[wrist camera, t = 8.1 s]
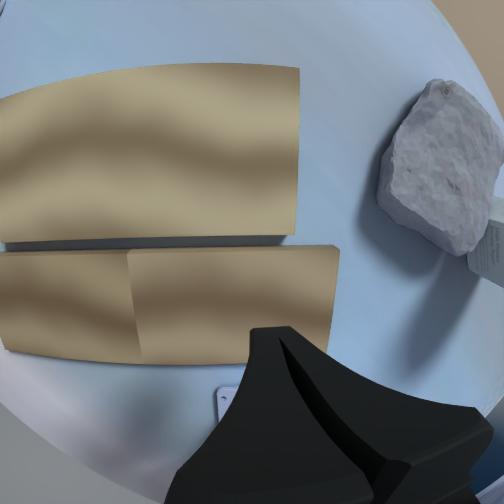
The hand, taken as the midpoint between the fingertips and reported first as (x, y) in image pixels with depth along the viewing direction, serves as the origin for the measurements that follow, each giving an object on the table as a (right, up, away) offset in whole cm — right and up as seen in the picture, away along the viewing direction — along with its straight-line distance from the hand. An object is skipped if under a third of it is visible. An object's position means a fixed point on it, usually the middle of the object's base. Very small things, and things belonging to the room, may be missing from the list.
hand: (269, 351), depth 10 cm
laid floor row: (-8, 0, +9) cm, 12 cm away
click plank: (-8, +9, +6) cm, 14 cm away
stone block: (+13, +10, +10) cm, 19 cm away
